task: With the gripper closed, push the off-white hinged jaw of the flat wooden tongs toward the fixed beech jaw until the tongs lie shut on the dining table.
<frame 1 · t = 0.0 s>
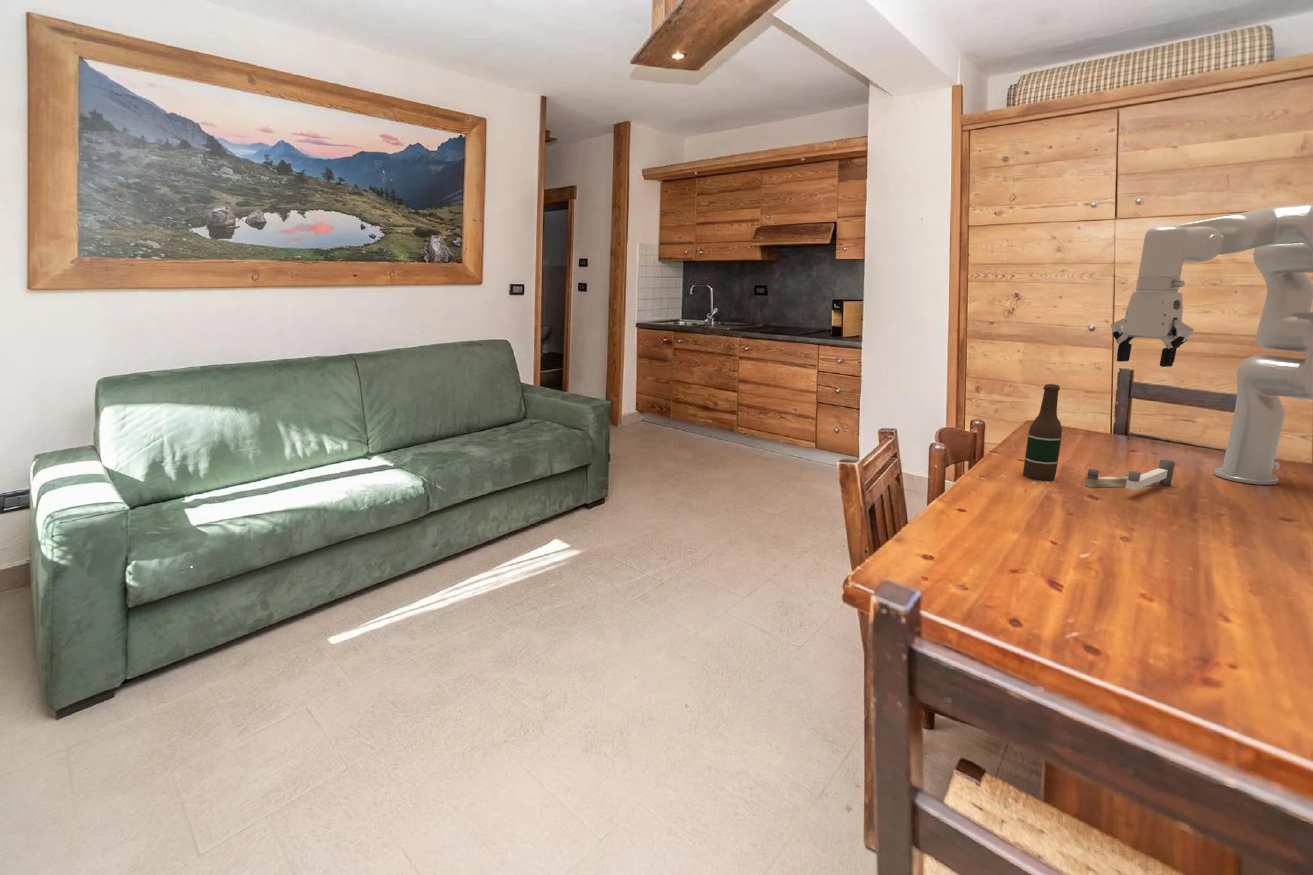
hand: (1143, 363, 151), 31 cm above the table, fingers open, 9 cm apart
tongs moving jaw: (1147, 474, 160), point 4 cm above the table, hinge at 30.0°
beer bottle: (1038, 477, 173), on the table
tongs fixed jaw: (1163, 484, 167), on the table
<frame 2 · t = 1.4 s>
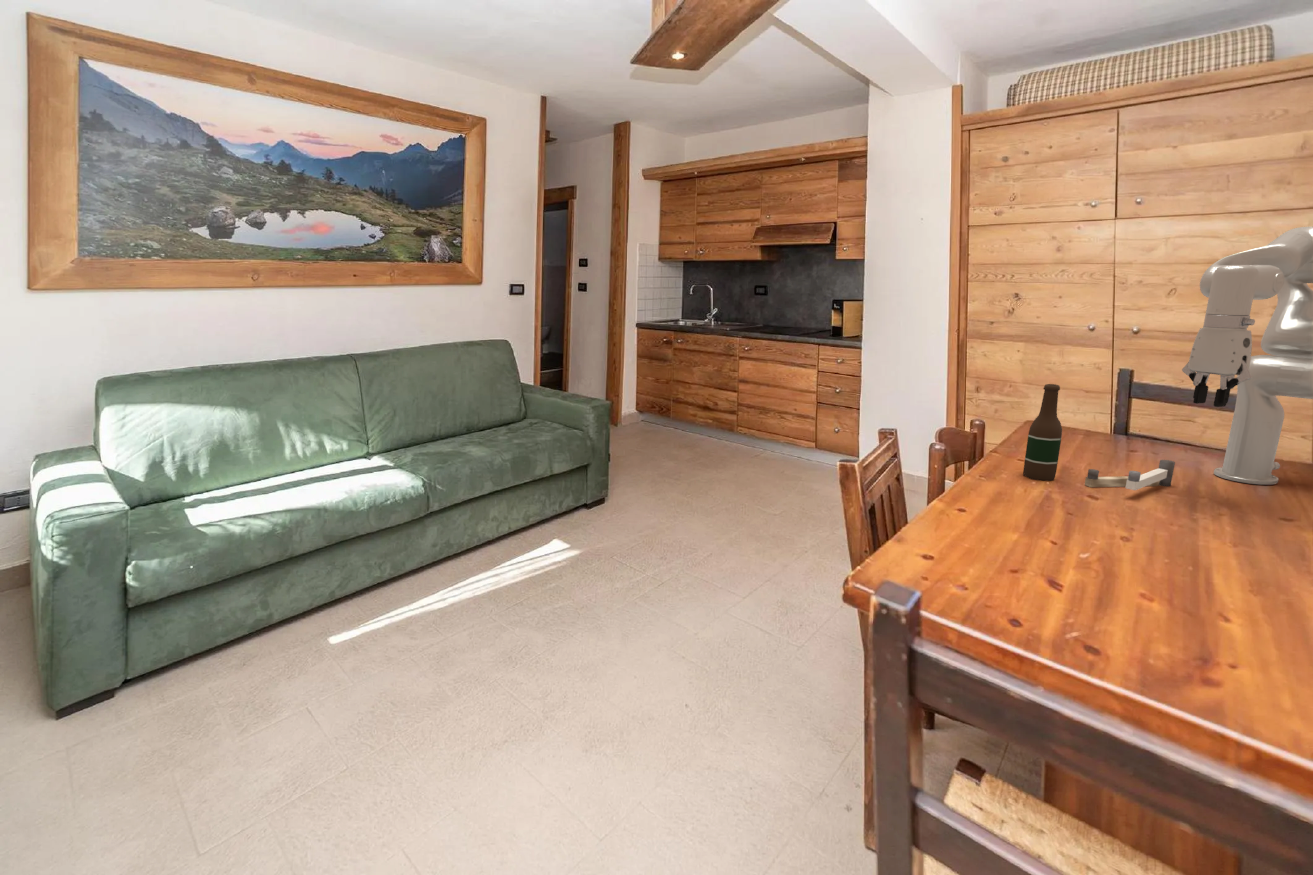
hand: (1209, 403, 153), 22 cm above the table, fingers open, 3 cm apart
nothing on the table moved.
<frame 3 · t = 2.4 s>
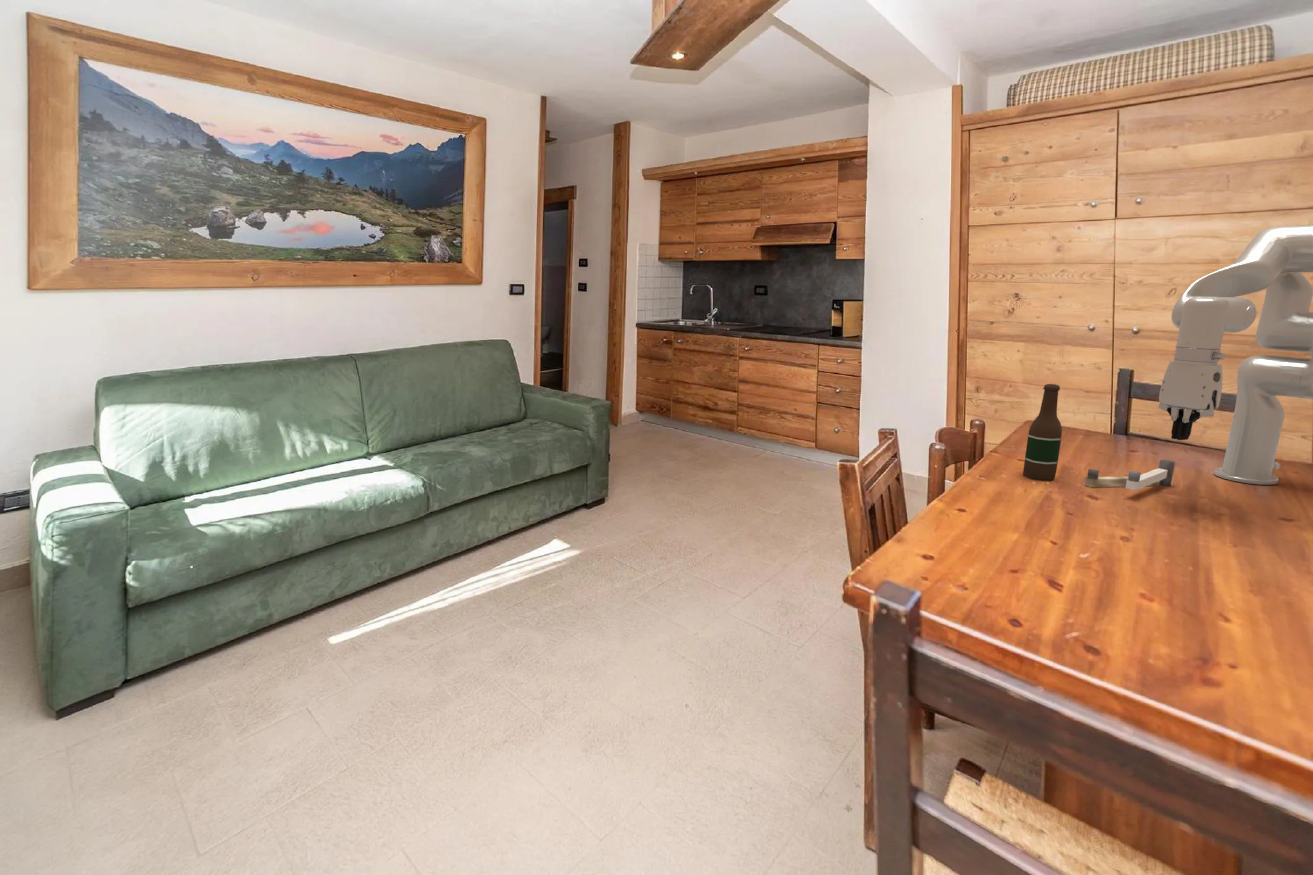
hand: (1179, 438, 149), 15 cm above the table, fingers closed
nothing on the table moved.
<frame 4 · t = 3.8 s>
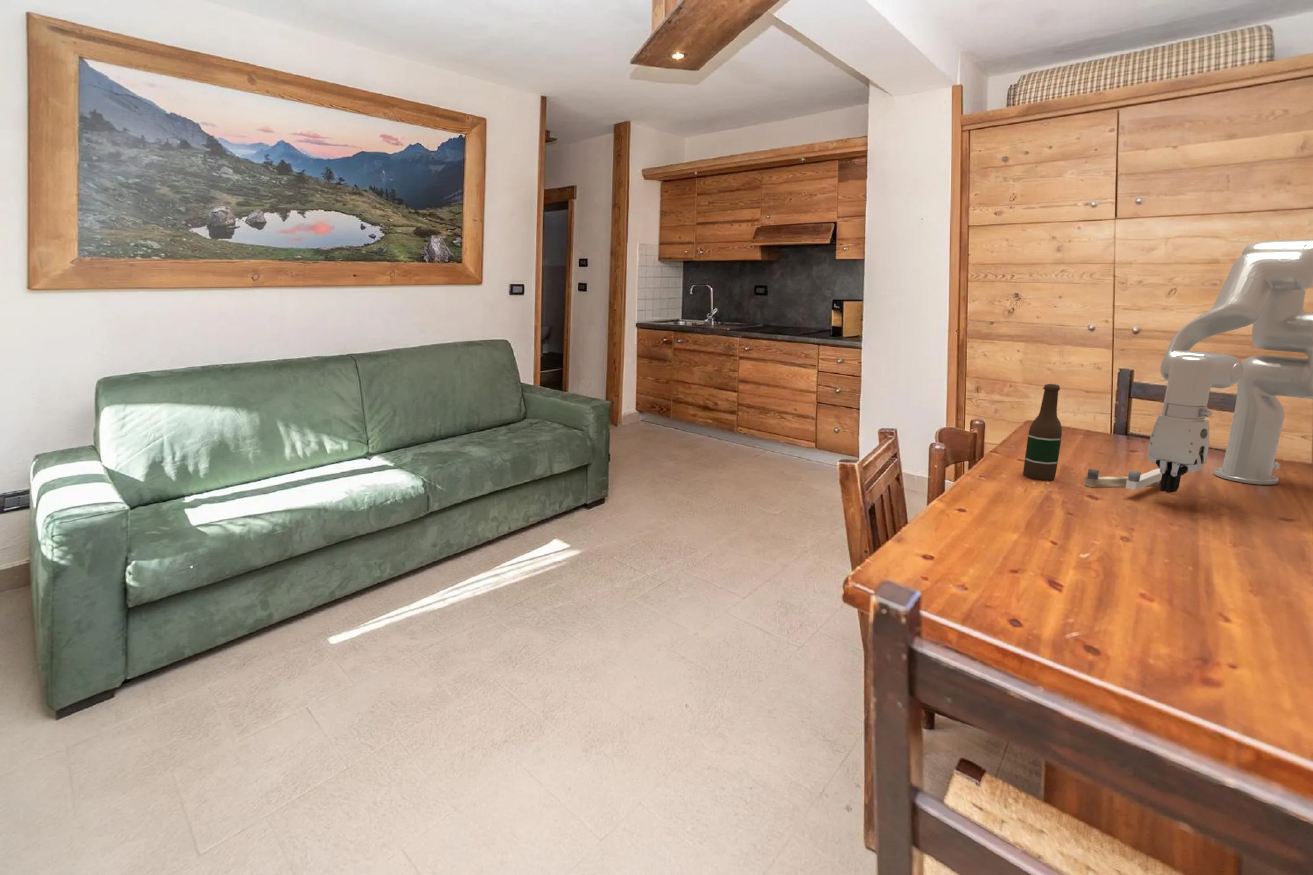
hand: (1168, 491, 152), 3 cm above the table, fingers closed
nothing on the table moved.
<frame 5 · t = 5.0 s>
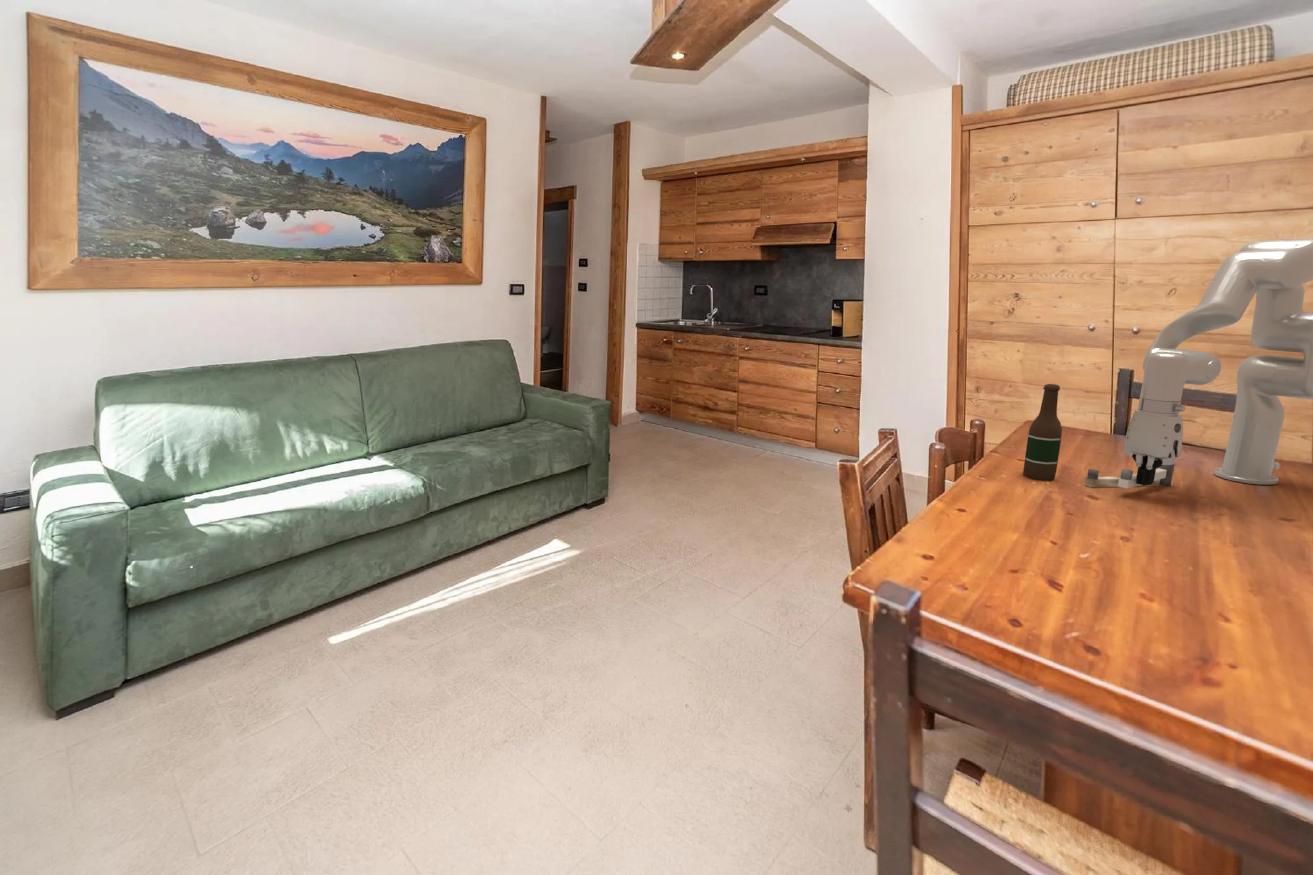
hand: (1144, 484, 157), 3 cm above the table, fingers closed
tongs moving jaw: (1143, 474, 161), point 4 cm above the table, hinge at 25.1°, touching gripper
everything else where it was.
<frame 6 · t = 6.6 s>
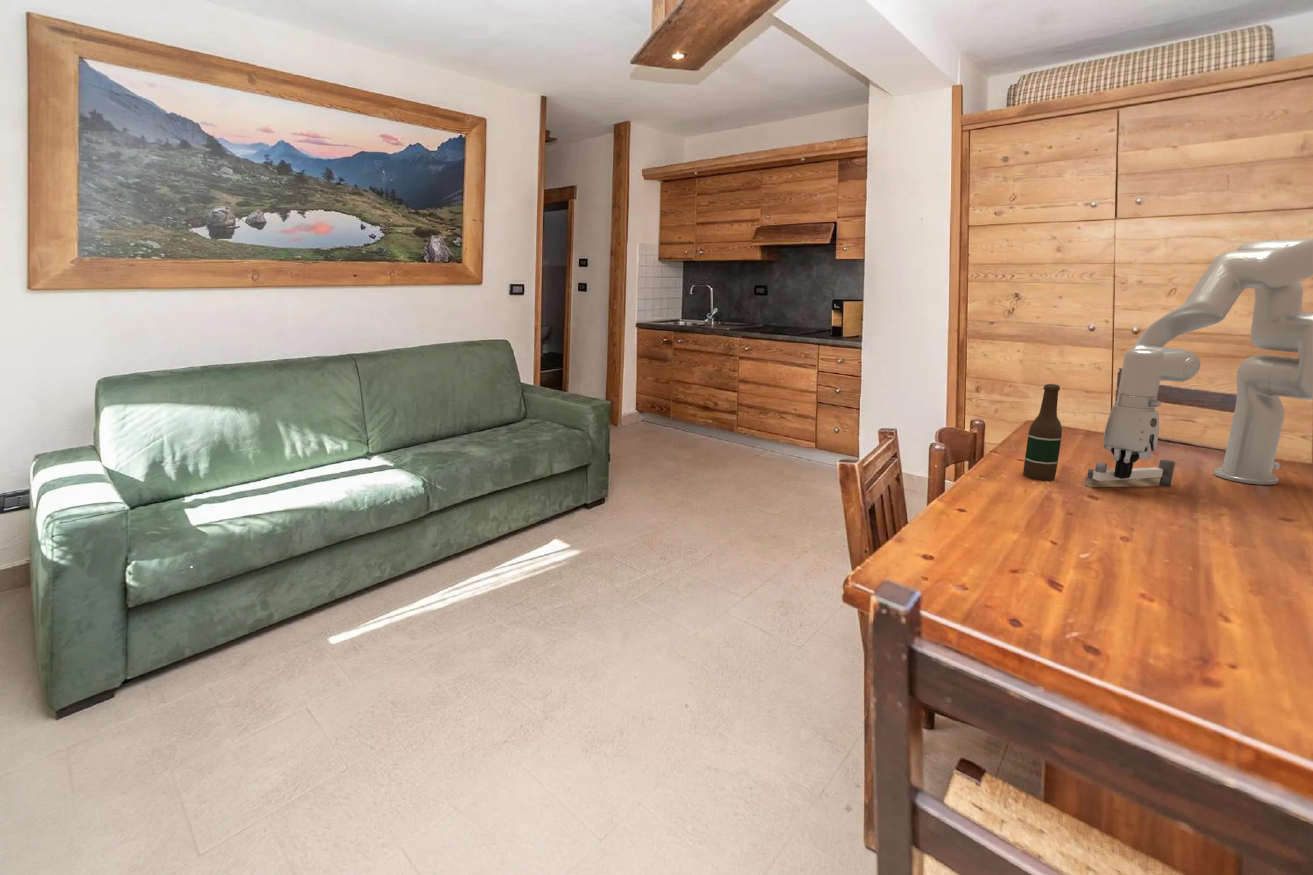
hand: (1122, 477, 161), 3 cm above the table, fingers closed
tongs moving jaw: (1128, 470, 164), point 4 cm above the table, hinge at 6.3°, touching gripper, tongs fixed jaw
everything else where it was.
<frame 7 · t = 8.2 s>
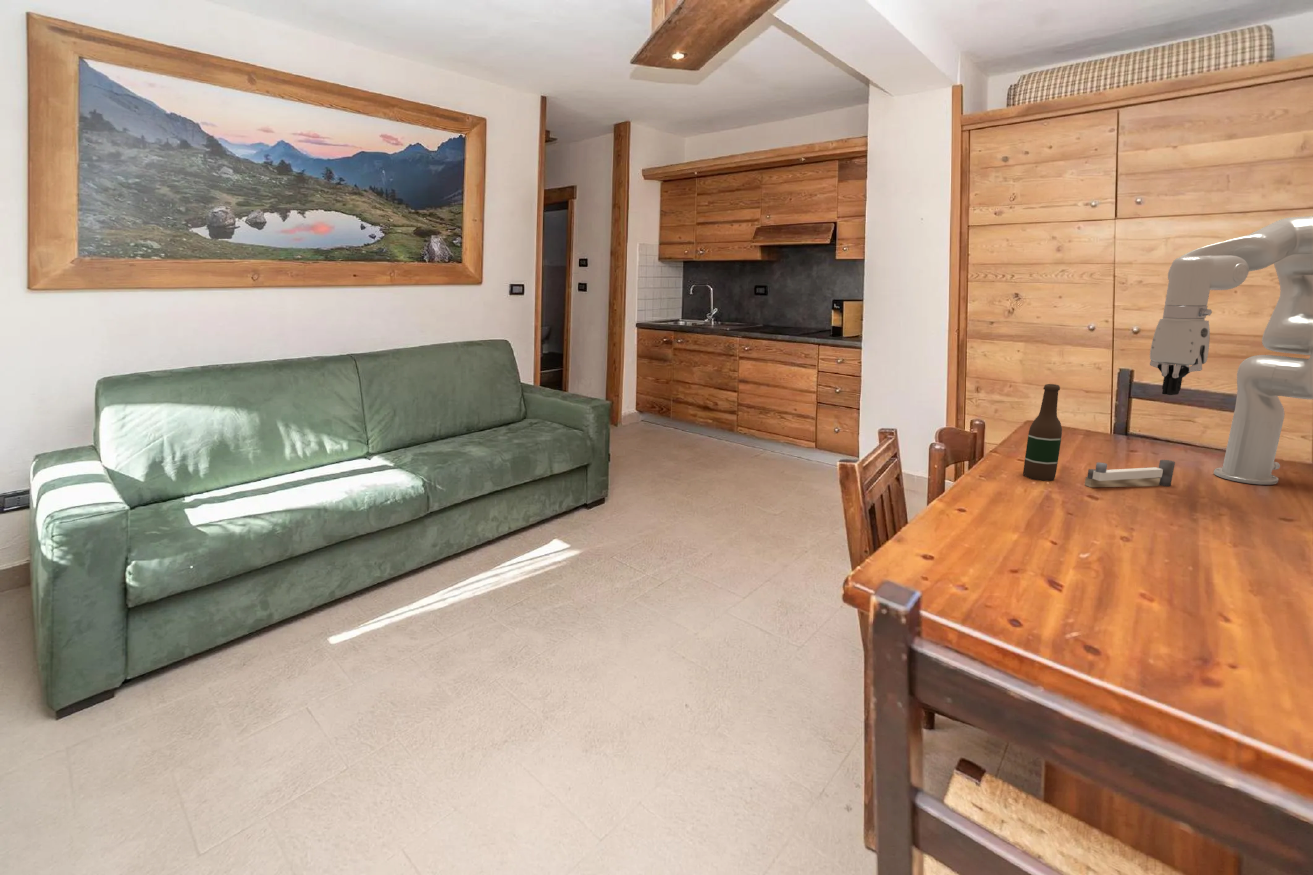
hand: (1170, 394, 155), 24 cm above the table, fingers closed
tongs moving jaw: (1128, 470, 164), point 4 cm above the table, hinge at 6.3°, touching tongs fixed jaw
everything else where it was.
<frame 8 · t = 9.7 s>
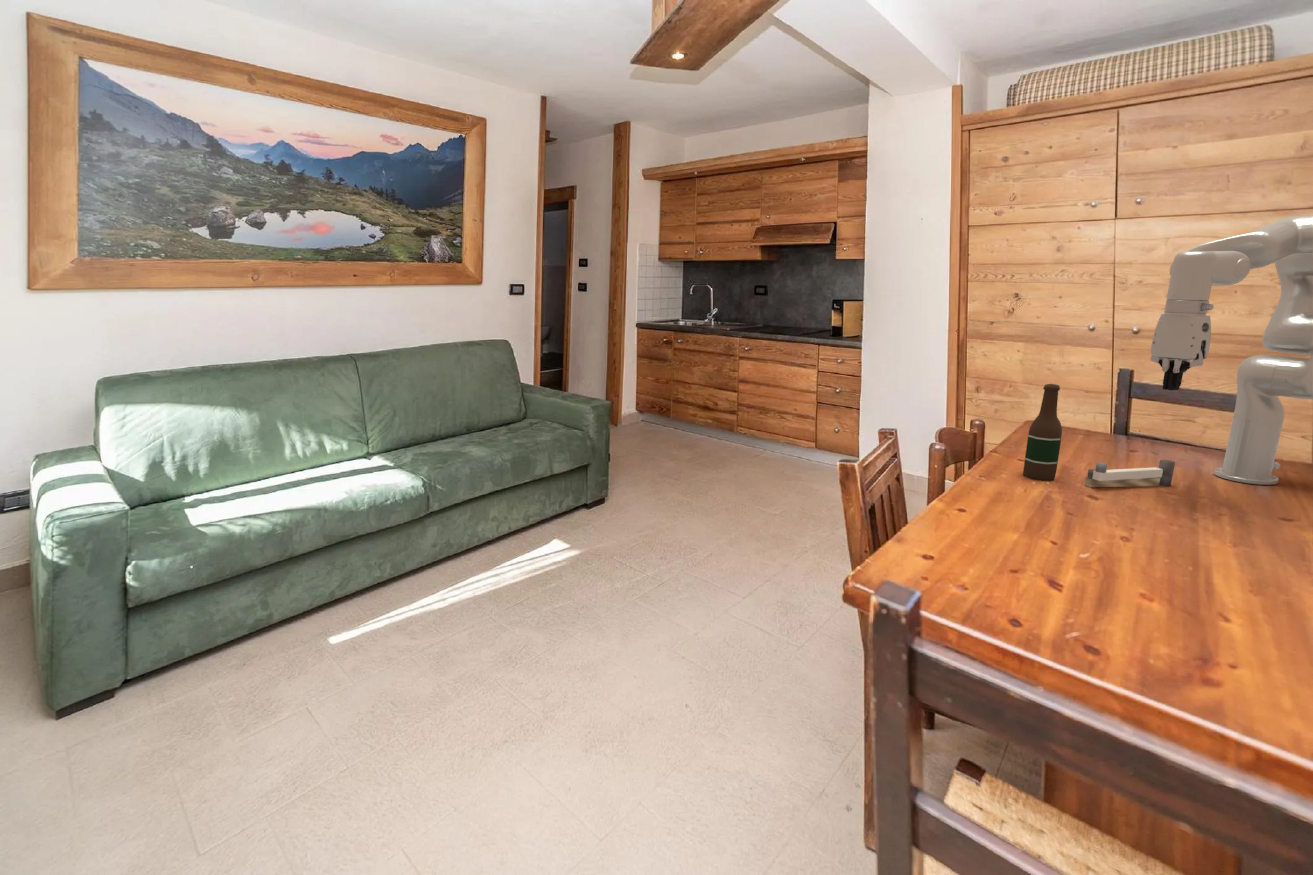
hand: (1170, 389, 155), 25 cm above the table, fingers closed
nothing on the table moved.
at the end: tongs moving jaw at +6° (first picture: +30°); tongs moving jaw touching tongs fixed jaw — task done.
